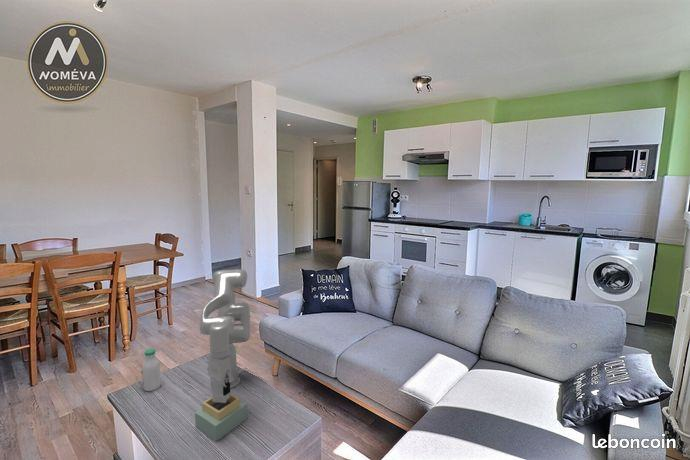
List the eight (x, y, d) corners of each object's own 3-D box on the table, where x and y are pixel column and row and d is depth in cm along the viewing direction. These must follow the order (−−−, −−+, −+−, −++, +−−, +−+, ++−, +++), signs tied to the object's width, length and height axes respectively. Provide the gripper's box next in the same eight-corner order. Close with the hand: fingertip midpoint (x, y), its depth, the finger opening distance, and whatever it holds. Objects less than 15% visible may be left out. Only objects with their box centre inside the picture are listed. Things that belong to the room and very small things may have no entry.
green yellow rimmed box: (226, 406, 153) (226, 385, 151) (247, 418, 145) (246, 396, 144) (195, 427, 139) (194, 404, 138) (216, 441, 132) (215, 418, 131)
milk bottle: (164, 384, 168) (162, 348, 165) (151, 393, 161) (148, 355, 158) (153, 381, 170) (150, 345, 167) (139, 389, 163) (137, 352, 160)
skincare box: (230, 397, 143) (229, 371, 141) (225, 403, 138) (224, 377, 137) (216, 395, 143) (215, 370, 141) (211, 402, 139) (210, 376, 137)
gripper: (199, 349, 139) (200, 388, 142) (225, 362, 130) (226, 403, 132) (214, 343, 145) (215, 379, 148) (240, 354, 136) (241, 393, 139)
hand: (220, 390), depth 140 cm, fingers closed on skincare box, 7 cm apart
